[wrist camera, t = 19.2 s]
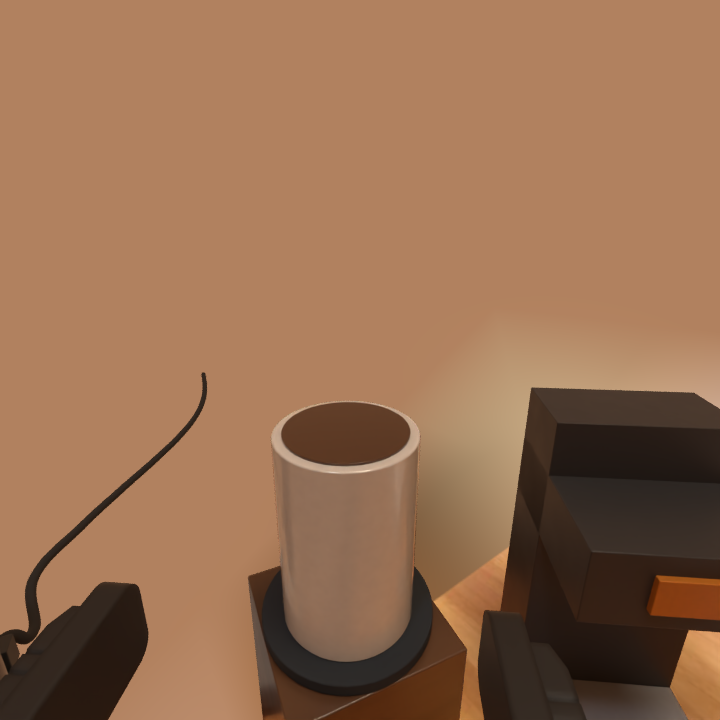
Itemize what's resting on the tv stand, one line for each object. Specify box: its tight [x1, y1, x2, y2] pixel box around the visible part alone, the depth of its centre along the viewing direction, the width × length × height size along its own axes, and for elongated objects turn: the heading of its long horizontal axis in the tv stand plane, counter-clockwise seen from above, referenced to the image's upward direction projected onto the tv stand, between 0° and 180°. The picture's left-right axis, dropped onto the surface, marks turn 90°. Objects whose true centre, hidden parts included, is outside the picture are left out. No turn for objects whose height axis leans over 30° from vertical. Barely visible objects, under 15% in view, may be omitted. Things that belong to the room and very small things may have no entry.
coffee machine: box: [501, 388, 720, 720], centre depth 30 cm, size 16×12×24 cm
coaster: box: [262, 567, 433, 696], centre depth 21 cm, size 8×8×1 cm
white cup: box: [271, 401, 421, 662], centre depth 19 cm, size 6×6×9 cm
